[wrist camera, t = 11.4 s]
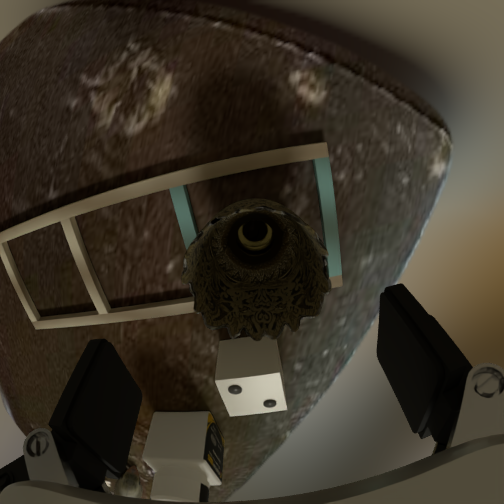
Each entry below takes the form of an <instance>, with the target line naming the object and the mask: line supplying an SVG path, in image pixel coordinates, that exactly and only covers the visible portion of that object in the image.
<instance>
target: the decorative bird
mask: <svg viewBox="0 0 504 504" xmlns="http://www.w3.org/2000/svg"><path fill="white" fill-rule="evenodd" d="M142 490H143V489H142V485H141V484H140V480H139V473H138V470H137V468H136V466H134V465H133V466H131V467H130V468H129V469H128V470H127V471H126V473H125V474H124V475H123V476H122V477H121V478H120V480H119V479H118V480H117V481H116V484H115V488H114V495H119V496H126V497H133V498H141V496H142Z"/></svg>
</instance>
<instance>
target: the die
mask: <svg viewBox="0 0 504 504" xmlns="http://www.w3.org/2000/svg"><path fill="white" fill-rule="evenodd" d="M215 382H216V385H217V387H218V390H219V392H220V394H221V397H222V399H223V401H224V404H225V406H226V408H227V410H228V413H229V415H230V416H240V415H250V414H259V413H267V412H275V411H282V410H287V404H286V395H285V387H284V378H283V370H282V365H281V360H280V355H279V349H278V344H277V339H275V340H272V339H270V338H268V337H266V336H265V337H264V336H263V337H262V339H261V340H260V341H254V340H253V339H252V338H251V337H245V338H237V339H230V340H222V341H220V342H219V350H218V358H217V366H216V375H215Z"/></svg>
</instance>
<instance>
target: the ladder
mask: <svg viewBox="0 0 504 504" xmlns="http://www.w3.org/2000/svg"><path fill="white" fill-rule="evenodd" d="M311 159H312V160H313V166H314V172H315V179H316V185H317V192H318V199H319V207H320V214H321V222H322V230H323V238H324V245H325V247H326V249H327V251H328V254H329V256H327V257H326V261H327V264H328V265H327V275H328V277H329V279H330V280H331V284H332V288H334V287H339V286H342V270H341V257H340V245H339V235H338V225H337V215H336V206H335V198H334V190H333V183H332V175H331V168H330V162H329V155H328V149H327V143H326V142H319V143H312V144H305V145H299V146H292V147H286V148H281V149H275V150H269V151H264V152H258V153H253V154H248V155H243V156H238V157H234V158H229V159H224V160H220V161H215V162H211V163H207V164H202V165H198V166H194V167H190V168H186V169H182V170H178V171H174V172H170V173H167V174H163V175H159V176H156V177H152V178H149V179H145V180H142V181H138V182H135V183H132V184H128V185H125V186H122V187H118V188H115V189H112V190H109V191H106V192H103V193H100V194H97V195H94V196H91V197H88V198H85V199H82V200H79V201H77V202H74V203H71V204H68V205H65V206H63V207H60V208H57V209H55V210H52V211H50V212H47V213H44V214H42V215H39V216H37V217H34V218H32V219H30V220H27V221H25V222H22V223H20V224H18V225H15V226H13V227H11V228H8V229H6V230H4V231H2V232H0V255H1V258H2V260H3V263H4V265H5V268H6V270H7V272H8V275H9V277H10V279H11V281H12V283H13V286H14V288H15V290H16V292H17V294H18V296H19V298H20V300H21V302H22V304H23V306H24V308H25V310H26V312H27V314H28V316H29V318H30V319H31V321H32V323H33V325H34V327H35V328H36V329H47V328H60V327H72V326H83V325H94V324H104V323H113V322H122V321H131V320H139V319H147V318H155V317H163V316H170V315H178V314H185V313H192V312H194V309H193V307H194V296H193V297H187V298H181V299H174V300H168V301H161V302H154V303H148V304H141V305H134V306H126V307H119V308H112V309H111V307H110V305H109V303H108V301H107V299H106V296H105V294H104V292H103V290H102V287H101V285H100V283H99V280H98V278H97V276H96V273H95V271H94V268H93V266H92V263H91V261H90V258H89V256H88V253H87V250H86V248H85V245H84V242H83V240H82V237H81V234H80V231H79V228H78V225H77V222H76V219H75V216H77V215H80V214H83V213H86V212H89V211H92V210H95V209H99V208H102V207H105V206H108V205H112V204H115V203H118V202H122V201H125V200H129V199H132V198H136V197H139V196H143V195H147V194H150V193H154V192H158V191H162V190H165V189H170V193H171V197H172V201H173V204H174V208H175V211H176V215H177V219H178V222H179V226H180V229H181V233H182V236H183V239H184V243H185V246H186V249H188V247H189V245H190V244H191V242H192V241H193V240H194V239H195V238H196V236H197V235H198V234H199V233H198V229H197V226H196V222H195V218H194V215H193V211H192V207H191V203H190V199H189V196H188V192H187V188H186V184H190V183H194V182H198V181H202V180H207V179H211V178H215V177H220V176H225V175H229V174H234V173H239V172H244V171H249V170H254V169H259V168H264V167H270V166H275V165H281V164H286V163H292V162H298V161H304V160H311ZM59 221H61V224H62V227H63V229H64V232H65V235H66V238H67V241H68V243H69V246H70V249H71V251H72V254H73V256H74V259H75V261H76V264H77V266H78V269H79V271H80V273H81V276H82V278H83V281H84V283H85V285H86V287H87V290H88V292H89V294H90V296H91V298H92V300H93V303H94V305H95V307H96V309H97V310H96V311H89V312H81V313H72V314H64V315H55V316H46V317H40V315H39V313H38V311H37V309H36V307H35V305H34V303H33V301H32V299H31V297H30V295H29V293H28V291H27V289H26V287H25V284H24V282H23V280H22V278H21V276H20V273H19V271H18V269H17V266H16V264H15V261H14V259H13V256H12V254H11V251H10V249H9V246H8V243H7V241H8V240H11V239H13V238H16V237H18V236H21V235H23V234H26V233H29V232H31V231H34V230H37V229H39V228H42V227H45V226H48V225H50V224H53V223H56V222H59Z"/></svg>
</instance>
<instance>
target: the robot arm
mask: <svg viewBox="0 0 504 504" xmlns="http://www.w3.org/2000/svg"><path fill="white" fill-rule="evenodd" d="M377 357H378V360H379V363H380V364H381V366H382V368H383V370H384V372H385V374H386V376H387V378H388V380H389V383H390V385H391V387H392V389H393V391H394V393H395V395H396V397H397V399H398V401H399V403H400V405H401V408H402V410H403V412H404V414H405V416H406V418H407V421H408V423H409V425H410V427H411V429H412V431H413V432H414V433H418V434H419V436H420V438H421V439H423V438H426V437H428V436H430V435H432V437H433V439H434V441H436V444H435V447H434V450H433V453H432V455H431V456H429V457H426V458H424V459H421V460H419V461H416V462H414V463H411V464H409V465H406V466H403V467H401V468H398V469H395V470H392V471H389V472H386V473H383V474H380V475H377V476H374V477H370V478H367V479H364V480H360V481H357V482H353V483H349V484H345V485H342V486H337V487H334V488H329V489H324V490H320V491H315V492H310V493H304V494H299V495H292V496H285V497H278V498H270V499H261V500H250V501H235V502H176V501H161V500H150V499H141V498H133V497H126V496H119V495H112V494H111V492H110V490H109V488H108V486H107V485H106V483H105V481H104V480H105V476H106V477H108V478H113V479H119V480H120V478H121V473H123V472H124V471H125V468H126V464H127V459H128V455H129V451H130V446H131V442H132V438H133V434H134V430H135V426H136V422H137V418H138V414H139V410H140V406H141V402H142V392H141V390H140V388H139V387H138V385H137V384H136V382H135V381H134V379H133V378H132V376H131V374H130V373H129V371H128V370H127V368H126V366H125V365H124V363H123V362H122V360H121V358H120V357H119V355H118V353H117V352H116V350H115V348H114V346H113V345H112V343H110V342H108V341H107V340H106V339H94V340H90V341H89V343H88V345H87V346H86V348H85V350H84V352H83V354H82V356H81V358H80V360H79V361H78V363H77V365H76V367H75V369H74V371H73V373H72V375H71V377H70V379H69V381H68V383H67V385H66V387H65V389H64V391H63V393H62V395H61V397H60V400H59V402H58V404H57V406H56V408H55V410H54V412H53V415H52V417H51V419H50V421H49V424H48V425H49V426H50V427H51V428H52V431H51V432H50V431H49V430H47V429H44V428H39V429H36V430H34V431H32V432H31V433H30V434H29V435H28V436H27V438H26V439H25V441H24V445H23V452H24V455H23V456H21V457H19V458H18V459H16V460H14V461H13V462H11V463H9V464H8V465H6V466H4V467H3V468H1V469H0V504H504V370H503V369H502V368H501V367H499V366H498V365H495V364H492V363H482V364H479V365H477V366H475V367H472V366H471V364H470V363H469V361H468V360H467V359H466V357H465V356H464V355H463V353H462V352H461V351H460V349H459V348H458V347H457V346H456V344H455V343H454V342H453V341H452V339H451V338H450V337H449V335H448V334H447V333H446V332H445V330H444V329H443V328H442V327H441V325H440V324H439V323H438V322H437V320H436V319H435V318H434V317H433V316H432V315H429V314H428V313H427V312H426V311H425V309H424V308H423V307H422V306H421V304H420V303H419V302H418V301H417V300H416V299H415V297H414V296H413V295H412V294H411V293H410V292H409V291H408V289H407V288H406V287H405V286H404V285H403V284H396V285H393V286H389V287H386V288H385V290H384V292H383V293H381V295H380V310H379V327H378V341H377Z"/></svg>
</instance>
